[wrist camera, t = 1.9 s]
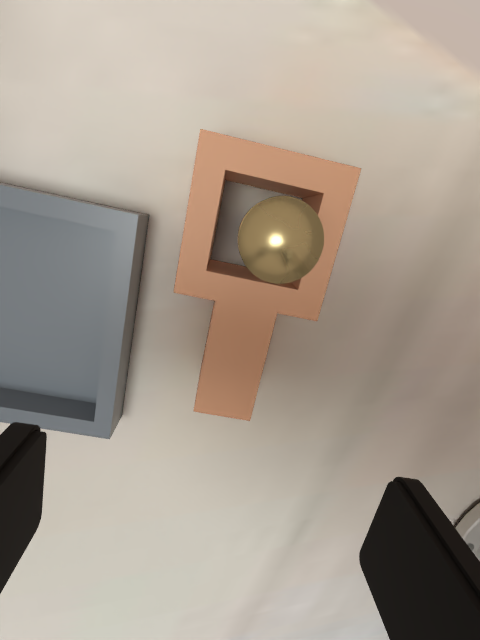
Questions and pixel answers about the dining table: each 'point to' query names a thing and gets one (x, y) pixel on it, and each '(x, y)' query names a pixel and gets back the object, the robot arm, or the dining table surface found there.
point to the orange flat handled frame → (238, 281)
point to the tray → (66, 309)
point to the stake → (280, 239)
